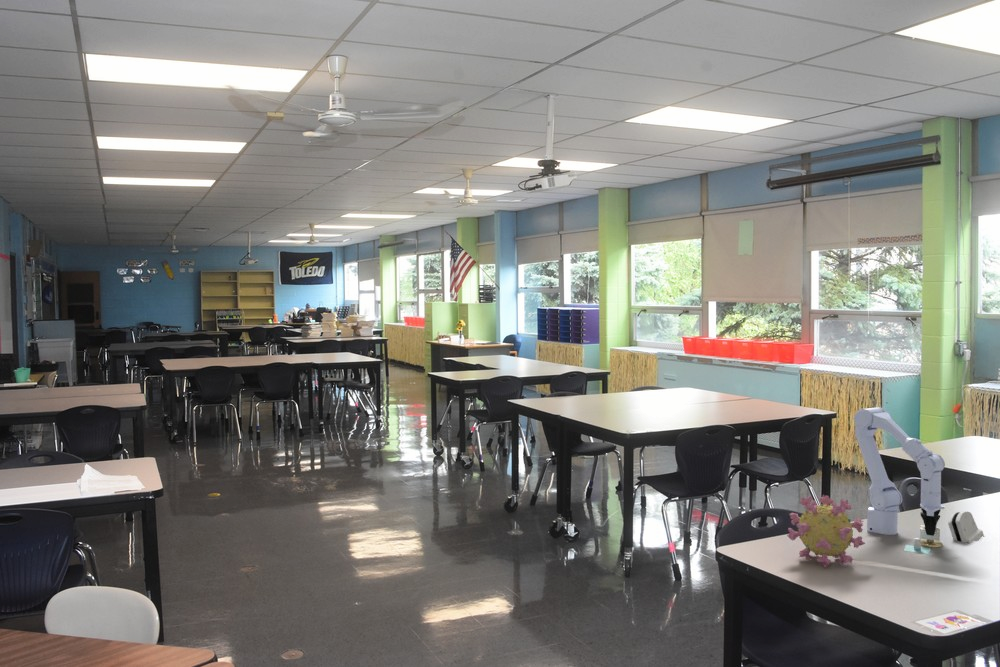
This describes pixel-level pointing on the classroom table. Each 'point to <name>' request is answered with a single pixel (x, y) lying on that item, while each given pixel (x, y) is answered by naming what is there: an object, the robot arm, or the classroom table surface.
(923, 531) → the hollow square metal tube
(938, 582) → the classroom table surface
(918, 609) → the classroom table surface
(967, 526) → the hinge
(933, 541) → the hub
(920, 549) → the stand
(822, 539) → the educational model
